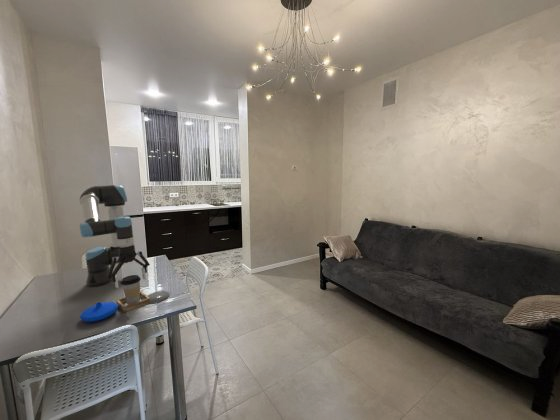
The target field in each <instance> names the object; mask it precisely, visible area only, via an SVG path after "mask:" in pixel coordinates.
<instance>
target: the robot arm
mask: <svg viewBox="0 0 560 420" xmlns="http://www.w3.org/2000/svg"><path fill="white" fill-rule="evenodd" d="M127 202H128V196H127V194H126V191H125V187H124V186H123V185H120V184H112V185H109V184H108V185H95V186H90V187H89V188H86V189H85V190H84V191H83V192H82V193H81V195H80V196H79V205H80V206H82V213H83V223H80V225H79V231H80V236H81V237H82V238H91V237H98V236H103V235H104V236H105V235H111V243H110V245H109V247H107V246H98V247H94V248H91V249H89V250H88V251H86V252H85V253H84V254H85V261H86V267H87V268H86V269H87V278H86V281H85V284H86V287H88V286H89V287H90V288H96V287H100V286H101V287H102V286H104V285H108V284H109V283H111V282H112V283H114V286H115V288H116V289H119V281H118V275H117V274H118V273H119V271H120V270H121V268H122V266H123V265H124V264H128V263H133V261H134V262H136V264H138V265H139V266H141V273H142V274H141V275H142V276H141V277H142V279H143V280H147V277H146V273H147V272H148V269H147V268H148V266H150V265H151V264H150V263H149V260H147V259H146V257H145V256H144V255H143V252H142V251H141V250H138V251H136V248H135V238H134V233H133V232H134V231H133V221H132V217H130V216H127V215H126V216H125V214H124V206H125V205H126V203H127ZM102 204H103V205H104V207H105V208H106V209H107V214H108V220H102V218H101V213H100V208H99V205H102ZM136 256H138V257H139V258H140V259H141V260H142V261H143V262H144V263H143V262H141V261H140V260H139V259H137V258H136ZM89 287H88V288H89Z"/></svg>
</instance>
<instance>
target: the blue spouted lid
mask: <svg viewBox="0 0 560 420" xmlns="http://www.w3.org/2000/svg"><path fill="white" fill-rule="evenodd" d="M118 308H119V306H118V305H117V303H116V302H113V301H107V302H97V303H95V304H94V305H92V306H90V307H87V308H86V309H84V310H83V311H82V312H81V313H80V316H79V318H80V319H81V321H83V322H86V323H87V322H98V321H102V320H104V319H107V318H108V317H110V316H111V315H113V314H115V313H116V312H117V311H118Z"/></svg>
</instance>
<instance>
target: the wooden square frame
mask: <svg viewBox="0 0 560 420" xmlns="http://www.w3.org/2000/svg"><path fill="white" fill-rule="evenodd" d="M140 298H142V300H140V301H139V302H136V303H134V304H131V305H128V304H127V306H126V305H124V303H127V300H126V297H125V296H124V297H121V298H119V299H116V300H115V301H116V302H115V303H116V304H117V305H118V308H120V310H121V311H122V312H124V313H127V312H129V311H132V310H134V309H137V308H139V307H143V306H144V305H147V304H149V303H148V302H149V301H151V300H150V297H148V296H147V294H146V293H145V292H143V291H142V290H140ZM144 298H145V299H144Z"/></svg>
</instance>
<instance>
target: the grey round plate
mask: <svg viewBox="0 0 560 420" xmlns="http://www.w3.org/2000/svg"><path fill="white" fill-rule="evenodd" d="M146 295H147V294H146ZM147 296H148V297H150V300H151V301H149V302H148V304H149V303H152V304H158V303H161V302H164V301H166V300H167V299H168V298H170V293H169V292H168V291H166V290H161V291H160V290H159V291H155V292H154V291H153V292H152V293H149V294H148V295H147ZM144 299H145V298H144ZM144 299H143V300H144Z"/></svg>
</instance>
